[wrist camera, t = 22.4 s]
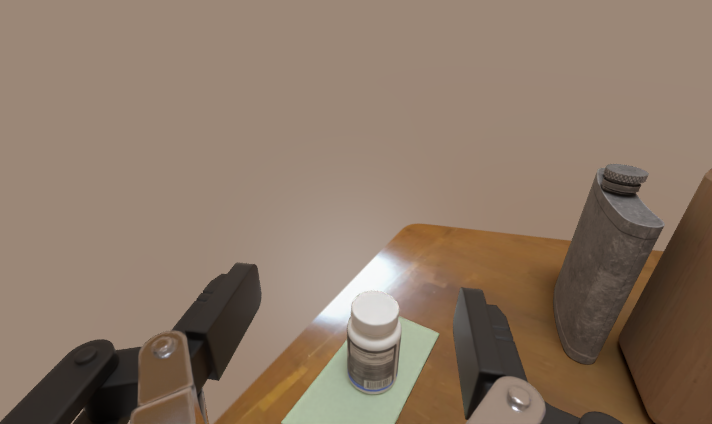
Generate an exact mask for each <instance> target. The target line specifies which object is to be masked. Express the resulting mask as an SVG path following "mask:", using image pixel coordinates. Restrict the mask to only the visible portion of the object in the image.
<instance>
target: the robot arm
mask: <svg viewBox="0 0 712 424" xmlns="http://www.w3.org/2000/svg"><path fill="white" fill-rule="evenodd" d="M260 302H261V287H260V281H259V274H258V268H257V266H256V265H255V264H247V263H236V264H235V265H234V266H233V267H232V269H231V270H230V271H229V272H228V274H221V275H219V276H218V277H217V278H215V279H214V280H212V281H211V282H210V283H209V284H208V285H207V287H206V288H205V289H204V290H203V293H201V294H200V295H199V297H198V298H197V300H196V301H195V302H194V303H193V304H192V305H191V307H190V308H189V309H188V310H187V311H186V313H185V314H184V315H183V316H182V318H181V319H180V320H179V321H178V323H177V324H176V325H175V326H174V328H173V329H172V330H171V331H166V332H163V333H160V334H158V335H155V336H154V337H152V338H150V339H149V340H148V341H147V342H146V343H145V344H144V345H143V346H142V347H136V348H129V349H122V350H115V348H114V346H113V344H112V343H111V342H110V341H108V340H94V341H90V342H87V343H85V344H82V345H80V346H78V347H77V348H75V349H73V350H72V351H71V352H69V353H68V354H67V355H66V356H65V357H64V358H63V359H62V360H61V361H60V362H59V363H58V364H57V365H56V366H55V367H54V369H52V370H51V371H50V372H49V373H48V374H47V375H46V376H45V377H44V378H43V379H42V380H41V381H40V382H39V383H38V384H37V385H36V386H35V387H34V388H33V389H32V390H31V391H30V392H29V393H28V394H27V396H25V398H23V400H22V401H21V402H19V403H18V405H17V406H16V407H15V408H14V409H13V410H12V411H11V412H10V413H9V414H8V415H7V416H6V417H5V418H4V419H3V420H2V421H1V422H0V424H71V423H72V421H73V420H74V419H75V417H76V416H77V415H78V414H79V413H80V411H81V410H82V409H83V412H82V413H81V414H80V415H79V416H78V418H77V419H76V420H75V421H74V423H73V424H127V423H128V422H129V420H130V424H209V423H208V417H207V410H206V405H205V398H204V392H203V388H202V387H203V386H204V384H205V382H206V380H207V379H212V380H218V381H219V379H220V378H221V376H222V374H223V372H224V371H225V369H226V367H227V365H228V363H229V361H230V360H231V358H232V356H233V354H234V352H235V350H236V348H237V347H238V345H239V343H240V341H241V340H242V338H243V336H244V334H245V332H246V330H247V329H248V327H249V325H250V323H251V322H252V320H253V318H254V316H255V314H256V312H257V310H258V309H259V306H260ZM453 335H454V342H455V349H456V356H457V363H458V371H459V378H460V385H461V392H462V399H463V406H464V413H465V419H466V420H468V421H467V422H466V424H623V423H621V422H620V421H619V420H617V419H615V418H614V417H612V416H610V415H607V414H605V413H601V412H588V413H586V414H584V415H583V416H582V417H581V418H578V417H576V416H573V415H571V414H569V413H566V412H564V411H562V410H559V409H557V408H555V407H553V406H551V405H549V404H548V403H546V402H545V401H544V400H543V398H542V396H541V395H540V394H539V392H538V391H537V390H536V389H535V388H534V387H533V386H532V385H530V384H529V383H528V381H527V378H526V375H525V372H524V369H523V366H522V363H521V360H520V357H519V354H518V351H517V348H516V345H515V342H513V336H512V333H511V331H510V327H509V324H508V321H507V319H506V316H505V315H504V314H503V313H502V311H501V310H500V309H499V308H498V307H497V306H496V305H488V304H486V301H485V297H484V293H483V291H482V290H480V289H471V288H460V291H459V296H458V300H457V305H456V309H455V314H454V320H453Z"/></svg>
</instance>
